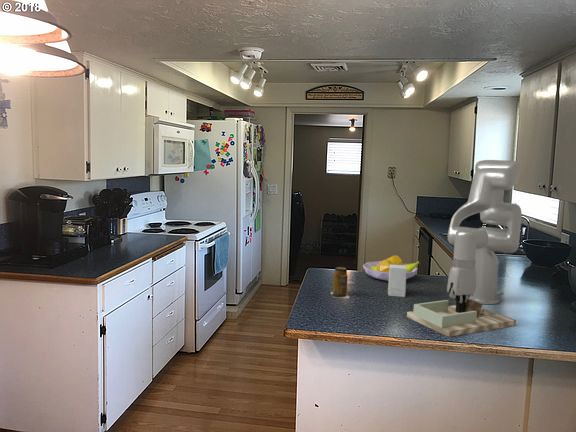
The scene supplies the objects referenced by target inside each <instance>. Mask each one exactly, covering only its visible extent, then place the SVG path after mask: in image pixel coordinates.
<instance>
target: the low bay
mask: <svg viewBox="0 0 576 432" xmlns="http://www.w3.org/2000/svg"><path fill="white" fill-rule="evenodd" d="M449 302H450V300H448V299H444V300H443V299H442V300H435V301H429V302H423V303H422V302H420V303H414V304H413V310H412V311H413V315H415V316H417V317H419V318H421V319H424V320H426V321H428V322H430V323H432V324H434V325H437V326H439V327H441V328H444V327H451V326H457V325H463V324H469V323H475V322H476V319H477V311H470V312H463V313H456V314H449V315H441V314H438V313H436V312H443V311H448V306H450V305H449Z"/></svg>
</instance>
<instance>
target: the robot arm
mask: <svg viewBox="0 0 576 432" xmlns="http://www.w3.org/2000/svg"><path fill="white" fill-rule="evenodd" d="M474 170H475V172H474V173H473V178H472V182H471V186H470V191H469V195H468V199H467V202H465V203H464V204H462V206H460V207H459V208H458V209H457V210H456V211H455V212H454V214H453V215H452V217H451V220H450V224H449V227H448V231H447V241H448V243H449V244H450V245H452V246H454V247H453V259H452V266H451V267H450V269H449V274H448V279H447V285H446V292H447V293H448V294H449V298H450V299H454V301H455V305H456V312H458V313H463V312H465V308H466V303H467V301H468V299H470V300H473V301H476V302H478V303H481V304H483V305H497V304H499V303H500V298H498V297H499V296H503V295H504V294H505V293H504V291H503V290H502V289H501V290H497V288H498V287H497V286H498V274H499V258H498V257H497V254H495V252H501V253H510V254H513V253H516V252H517V251H518V249H519V246H520V238H521V226H522V215H523V214H522V208H521V206H520V205H519V204H517V203H511V202H504V196H505V191H510V190H511V189H513V187H514V186H515V184H517V182H518V181H519V178H520V176H521V173H522V167H521V164H520V162H518V161H517V160H508V159H507V160H504V159H503V160H499V159H484V160H479V161H477V162H476V163H475V166H474ZM476 214H479V217H480V218H479V219H480V221H481V223H483V224H487V225H495V226H504V227H506V228H507V229H506V228H498V227H488V226H484V227H479V228H474V227H470V226H469V227H467V226H460V225H461V223H462V221H463V220H465V219H466V218H468V217H471V216H473V215H476Z"/></svg>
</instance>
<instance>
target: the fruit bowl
mask: <svg viewBox="0 0 576 432" xmlns="http://www.w3.org/2000/svg"><path fill="white" fill-rule="evenodd" d="M390 265H406V268H407V273H406V280H408V279H410V278H412V277H415V275H416V273H417V270H418V267H417V266H418V265H420V261H419V260H417V261H416V262H413V263H404V262H403V260H402V259H401V257H400V256H399V255H395V254H393V255H392V256H390V257H388V258H386V259H383V260H378V261H368V262H366V263H364V264H363V265H362V267H363V270H364V271H365V273H366V274H367V275H369V276H370V277H372V278H374V279H375V280H376V279H377V280H380V281H384V282H385V281H386V282H389V267H390Z"/></svg>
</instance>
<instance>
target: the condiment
mask: <svg viewBox="0 0 576 432" xmlns="http://www.w3.org/2000/svg"><path fill="white" fill-rule="evenodd" d="M348 277H349V276H348V269H347V267H344V266H337V267H335V268H334V273H333V279H332V280H333V281H332V283H333V284H332V285H333V286H332V291H331V292H330V295H331V297H332V298H335V299H350V296H349V295H348Z"/></svg>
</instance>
